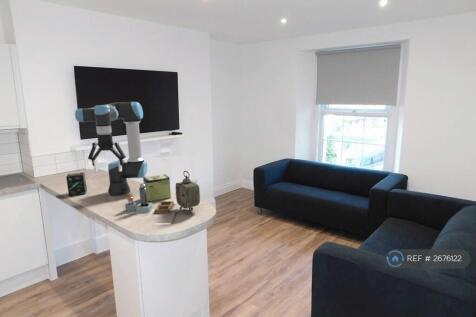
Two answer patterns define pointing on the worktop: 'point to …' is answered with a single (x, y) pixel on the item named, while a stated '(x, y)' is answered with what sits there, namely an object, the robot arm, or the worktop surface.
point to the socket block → (138, 209)
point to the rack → (164, 207)
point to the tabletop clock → (187, 193)
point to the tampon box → (76, 184)
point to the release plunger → (130, 200)
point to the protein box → (157, 187)
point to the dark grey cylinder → (143, 195)
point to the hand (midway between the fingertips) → (108, 171)
